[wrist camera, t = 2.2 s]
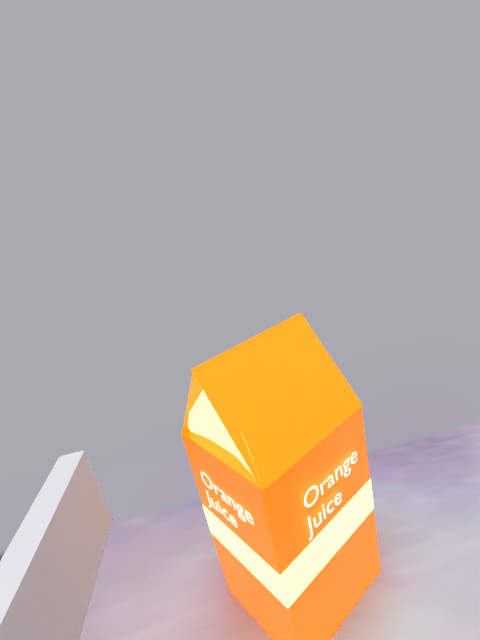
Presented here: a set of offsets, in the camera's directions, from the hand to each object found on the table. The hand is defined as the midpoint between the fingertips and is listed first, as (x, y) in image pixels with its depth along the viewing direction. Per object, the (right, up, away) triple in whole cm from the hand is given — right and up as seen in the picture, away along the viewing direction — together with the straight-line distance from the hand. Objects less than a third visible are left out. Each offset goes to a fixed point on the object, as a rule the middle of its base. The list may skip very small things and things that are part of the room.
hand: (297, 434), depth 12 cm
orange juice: (+3, -16, +16) cm, 23 cm away
